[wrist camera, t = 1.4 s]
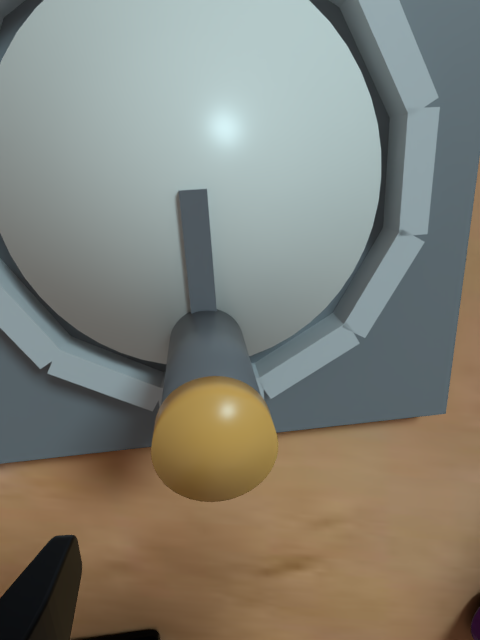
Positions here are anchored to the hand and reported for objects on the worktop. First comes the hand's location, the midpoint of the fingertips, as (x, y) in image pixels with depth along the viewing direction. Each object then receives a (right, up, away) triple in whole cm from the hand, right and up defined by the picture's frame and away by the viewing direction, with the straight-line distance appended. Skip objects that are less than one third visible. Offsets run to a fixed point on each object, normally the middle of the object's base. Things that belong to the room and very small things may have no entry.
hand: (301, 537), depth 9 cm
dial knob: (-3, +10, +8) cm, 13 cm away
